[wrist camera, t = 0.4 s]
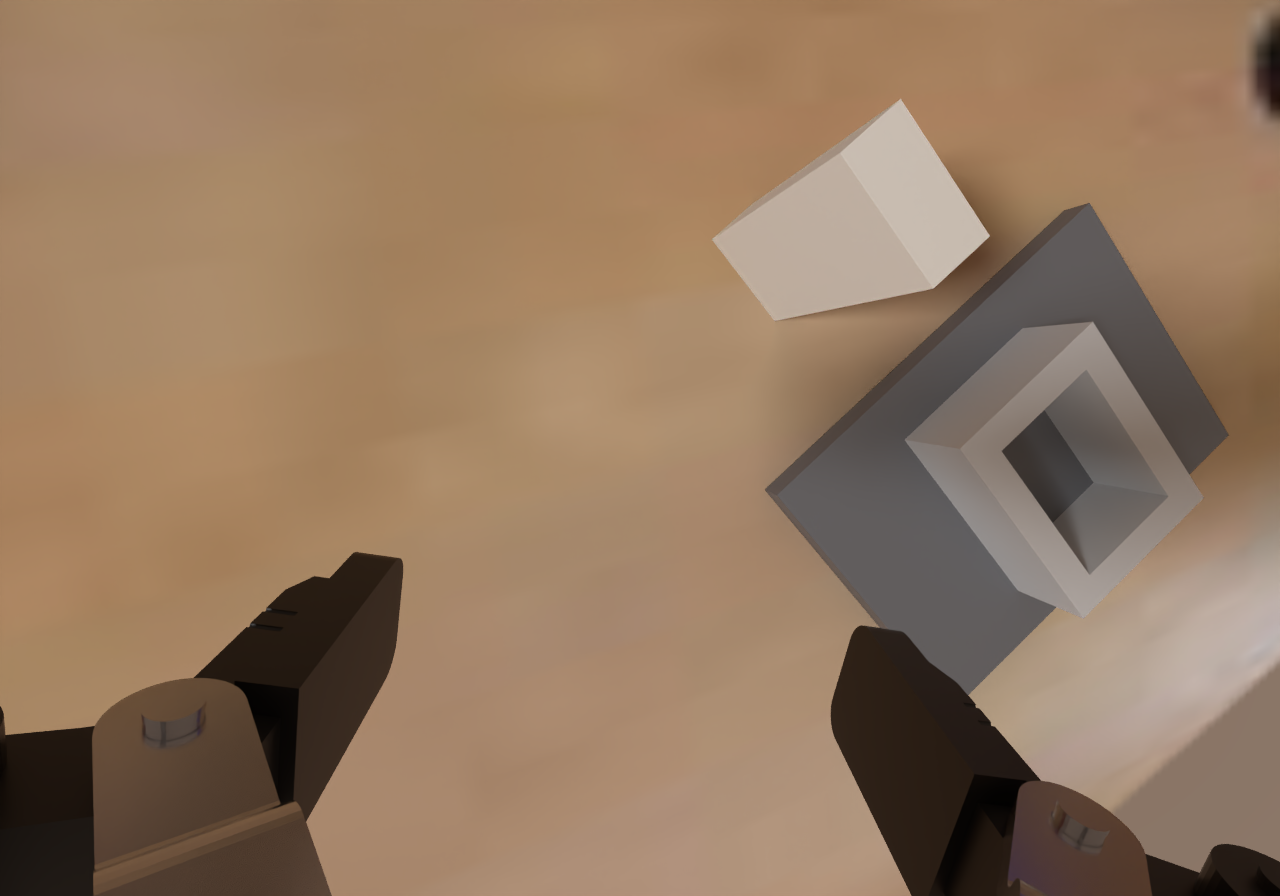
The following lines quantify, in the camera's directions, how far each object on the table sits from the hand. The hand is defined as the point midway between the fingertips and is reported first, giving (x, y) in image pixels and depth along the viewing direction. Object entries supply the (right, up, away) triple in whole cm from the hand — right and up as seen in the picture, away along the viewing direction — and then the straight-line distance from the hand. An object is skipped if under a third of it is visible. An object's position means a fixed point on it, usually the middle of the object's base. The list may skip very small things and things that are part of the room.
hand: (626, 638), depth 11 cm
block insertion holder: (+20, +3, +23) cm, 31 cm away
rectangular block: (+6, +12, +20) cm, 24 cm away
